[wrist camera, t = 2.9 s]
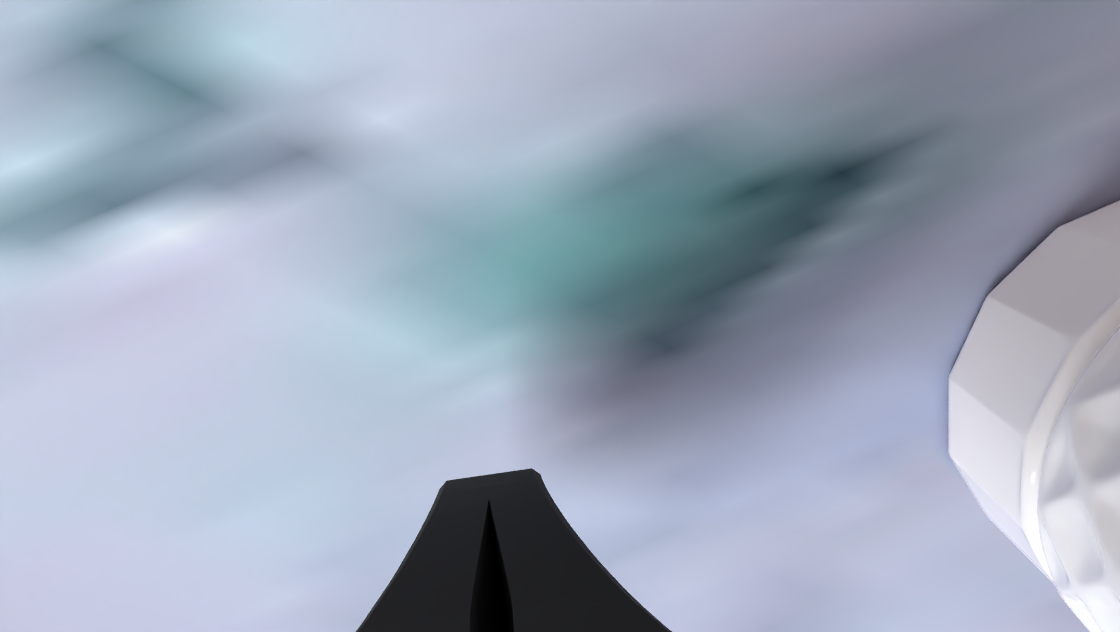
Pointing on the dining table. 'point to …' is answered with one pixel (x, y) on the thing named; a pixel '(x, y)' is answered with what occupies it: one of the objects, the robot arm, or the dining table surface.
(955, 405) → the white cup
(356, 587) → the dining table surface
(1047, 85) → the dining table surface
